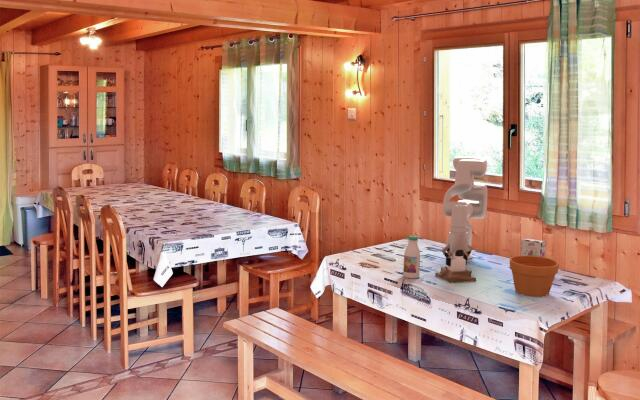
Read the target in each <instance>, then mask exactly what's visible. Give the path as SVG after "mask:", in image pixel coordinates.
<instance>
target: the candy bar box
mask: <svg viewBox="0 0 640 400" xmlns="http://www.w3.org/2000/svg"><path fill="white" fill-rule="evenodd" d="M546 245H547V241H546V240H540V239H533V238H528V237H527V238H525V237H524V238H522V239H521V247H520V256H539V257H545V258H546Z"/></svg>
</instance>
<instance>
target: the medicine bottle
mask: <svg viewBox="0 0 640 400" xmlns="http://www.w3.org/2000/svg"><path fill="white" fill-rule="evenodd" d="M463 254H464V251H463V250H457V251H456V253H455V254H452V255H451V257H450V258H451V266H447V265H446V267H447V269H448V270H450V271H452V272H460V271H465V269H466V266H467V265H466V260H465V259H464V258H463Z"/></svg>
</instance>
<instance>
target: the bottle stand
mask: <svg viewBox="0 0 640 400" xmlns="http://www.w3.org/2000/svg"><path fill="white" fill-rule="evenodd" d="M434 274H435V275H434V276H436V277H437V278H440V279H442V280H444V281H446V282H448V283H450V284H452V283H453V284H454V283H468V281H469V282H476V281H477V277H475V276H473V275H472V274H473V272H472V270H471V269H468V268H465V271H460V272H452V271H450V270H448V269H447V266H440V271H439V272H435V273H434Z"/></svg>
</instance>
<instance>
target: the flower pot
mask: <svg viewBox="0 0 640 400" xmlns="http://www.w3.org/2000/svg"><path fill="white" fill-rule="evenodd" d="M559 266H560V263H559V261H557V260H555V259H552V258H550V257H546V256H545V257H539V256H521V255H514V256H512V257H510V258H509V269H510V270H511V273H512V280H513V286H514V290H515V292H516V293H517V294H519V295H522V296H526V297H532V298H533V297H534V298H536V297H537V298H543V296H544V297H547V296H549V294H550V292H551V289H552V286H553V283H554V280H555V278H556V275H557V274H558V272H559V268H560V267H559Z"/></svg>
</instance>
